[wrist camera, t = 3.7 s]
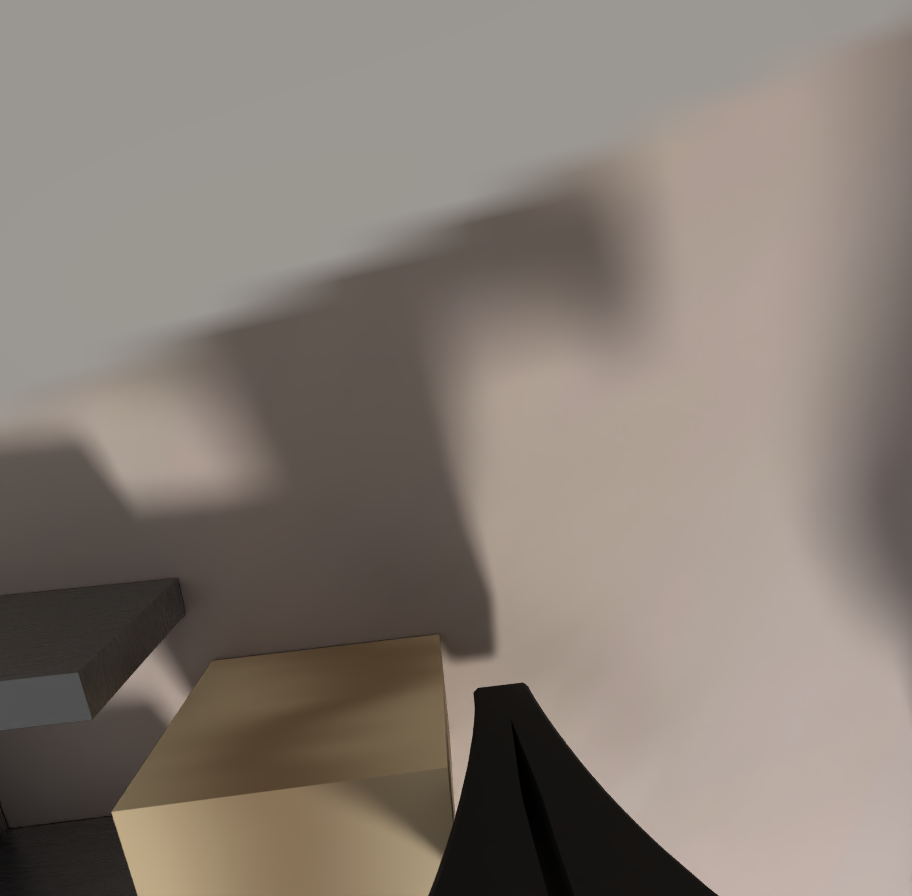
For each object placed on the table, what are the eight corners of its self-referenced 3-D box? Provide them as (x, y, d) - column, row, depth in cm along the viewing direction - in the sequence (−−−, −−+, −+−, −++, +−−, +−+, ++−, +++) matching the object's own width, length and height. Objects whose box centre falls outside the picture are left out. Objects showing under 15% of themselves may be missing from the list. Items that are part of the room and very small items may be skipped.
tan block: (439, 634, 12) (447, 767, 8) (449, 733, 13) (460, 897, 9) (212, 660, 12) (111, 812, 8) (235, 760, 13) (153, 943, 9)
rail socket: (177, 578, 11) (77, 672, 8) (248, 881, 14) (192, 1052, 10) (-129, 609, 11) (-363, 721, 8) (-5, 916, 13) (-146, 1104, 10)
